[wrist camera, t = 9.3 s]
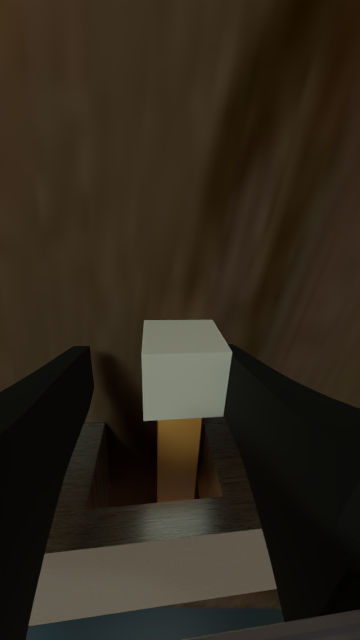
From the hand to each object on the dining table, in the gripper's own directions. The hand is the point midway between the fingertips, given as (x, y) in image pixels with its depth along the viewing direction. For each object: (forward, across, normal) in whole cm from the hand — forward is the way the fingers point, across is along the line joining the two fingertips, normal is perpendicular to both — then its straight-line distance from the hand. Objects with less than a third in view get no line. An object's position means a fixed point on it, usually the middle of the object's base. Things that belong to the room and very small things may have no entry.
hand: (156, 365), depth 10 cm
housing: (+1, 0, +7) cm, 7 cm away
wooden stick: (+1, -1, +7) cm, 7 cm away
